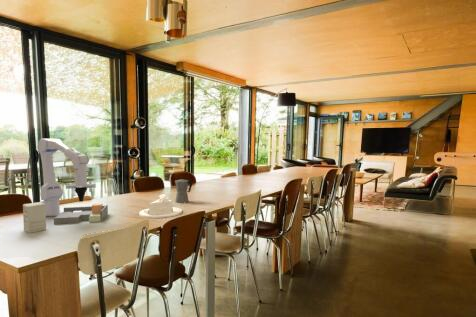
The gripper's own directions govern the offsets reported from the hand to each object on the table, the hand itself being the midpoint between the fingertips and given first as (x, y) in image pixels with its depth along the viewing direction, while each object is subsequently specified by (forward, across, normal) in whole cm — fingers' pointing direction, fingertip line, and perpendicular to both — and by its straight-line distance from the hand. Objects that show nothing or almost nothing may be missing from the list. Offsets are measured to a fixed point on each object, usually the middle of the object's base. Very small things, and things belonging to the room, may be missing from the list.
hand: (81, 201), depth 157 cm
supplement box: (+10, -16, -17) cm, 25 cm away
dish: (+10, +42, +4) cm, 44 cm away
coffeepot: (+10, +57, +33) cm, 67 cm away
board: (+10, 0, 0) cm, 10 cm away
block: (+7, +8, 0) cm, 10 cm away
